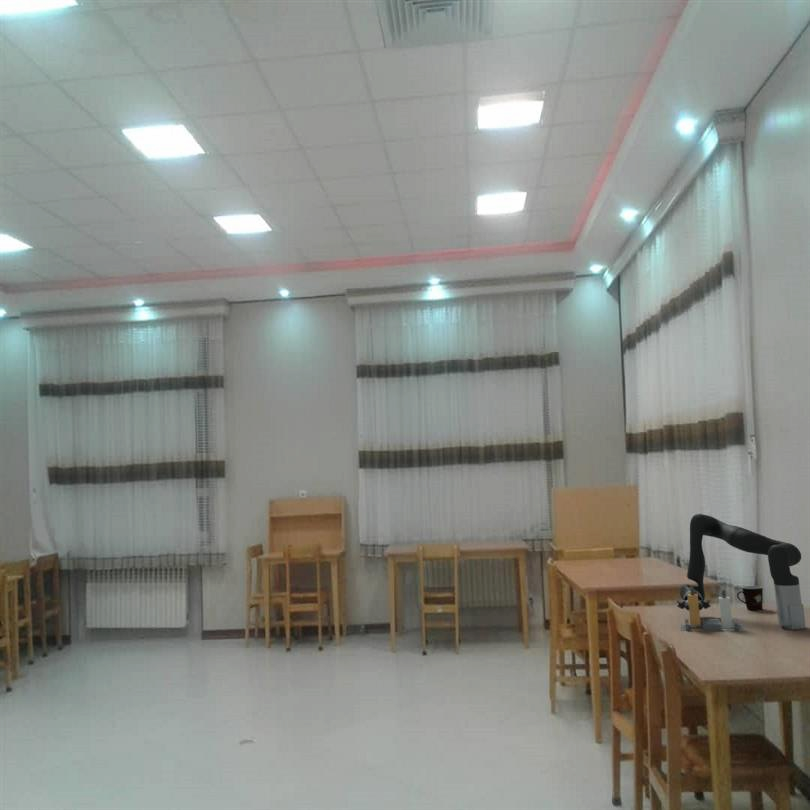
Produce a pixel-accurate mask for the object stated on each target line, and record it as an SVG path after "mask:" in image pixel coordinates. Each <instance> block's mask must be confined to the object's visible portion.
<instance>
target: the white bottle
mask: <svg viewBox="0 0 810 810" xmlns="http://www.w3.org/2000/svg"><path fill="white" fill-rule="evenodd" d="M718 603H719V604H718V605H719V613H720V614H719V615H720V620H721V623H720V624H721V625H722V629H733V625H734V622H733V617H732V616H733V615H732V608H731V598H730V596H727V593H726V590H724V589H721V596H719V597H718Z"/></svg>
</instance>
